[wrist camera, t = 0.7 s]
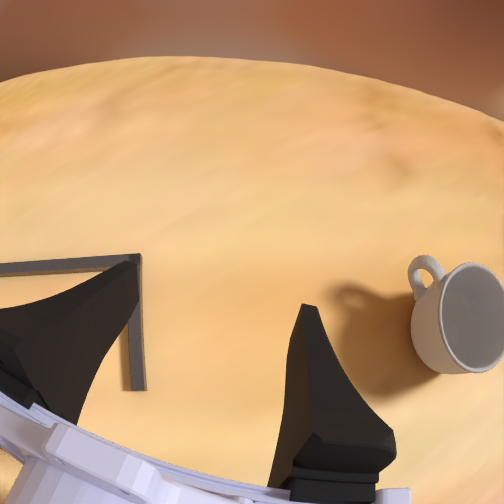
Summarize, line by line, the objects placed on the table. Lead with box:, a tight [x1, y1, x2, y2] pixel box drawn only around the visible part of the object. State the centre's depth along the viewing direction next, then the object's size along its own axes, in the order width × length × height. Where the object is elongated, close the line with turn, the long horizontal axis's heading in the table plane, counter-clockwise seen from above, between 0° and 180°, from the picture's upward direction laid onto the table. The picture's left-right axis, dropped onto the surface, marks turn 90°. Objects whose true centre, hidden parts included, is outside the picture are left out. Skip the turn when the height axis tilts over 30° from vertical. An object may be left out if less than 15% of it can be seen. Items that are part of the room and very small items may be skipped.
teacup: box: [408, 255, 504, 374], centre depth 28 cm, size 14×11×8 cm
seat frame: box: [0, 253, 147, 449], centre depth 25 cm, size 20×21×1 cm
